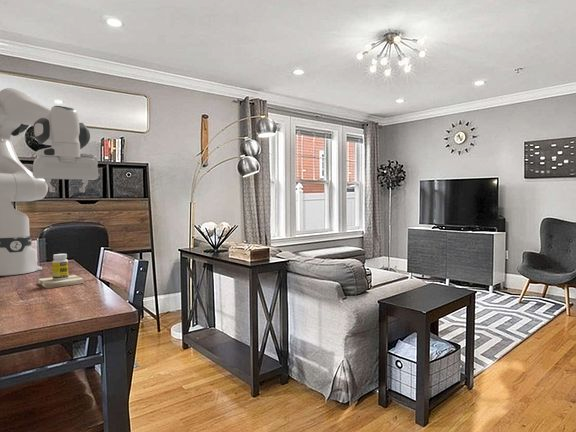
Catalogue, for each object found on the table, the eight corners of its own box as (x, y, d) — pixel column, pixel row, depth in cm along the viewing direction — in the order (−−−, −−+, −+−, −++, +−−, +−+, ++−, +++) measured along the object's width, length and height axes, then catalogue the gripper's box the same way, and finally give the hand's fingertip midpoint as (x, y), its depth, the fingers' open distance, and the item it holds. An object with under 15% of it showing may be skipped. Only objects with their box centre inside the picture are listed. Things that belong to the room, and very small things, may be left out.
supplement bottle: (61, 280, 131) (60, 255, 131) (49, 280, 132) (48, 255, 132) (71, 277, 136) (71, 253, 136) (60, 277, 137) (59, 253, 137)
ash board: (38, 283, 135) (38, 278, 135) (73, 278, 143) (73, 274, 142) (46, 288, 126) (46, 284, 126) (83, 283, 134) (83, 278, 134)
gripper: (94, 155, 147) (96, 192, 148) (30, 151, 134) (32, 192, 134) (100, 154, 143) (101, 192, 143) (34, 149, 129) (36, 191, 129)
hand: (67, 192), depth 139 cm, fingers open, 8 cm apart
